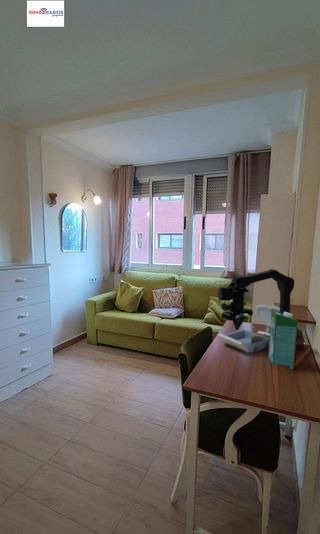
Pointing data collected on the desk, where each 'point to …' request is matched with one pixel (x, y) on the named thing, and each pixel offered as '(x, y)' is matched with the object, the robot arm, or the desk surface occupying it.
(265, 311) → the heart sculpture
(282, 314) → the milk carton
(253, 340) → the brown cube
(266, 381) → the desk surface
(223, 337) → the tall thin white panel
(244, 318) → the robot arm
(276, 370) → the desk surface
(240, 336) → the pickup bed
